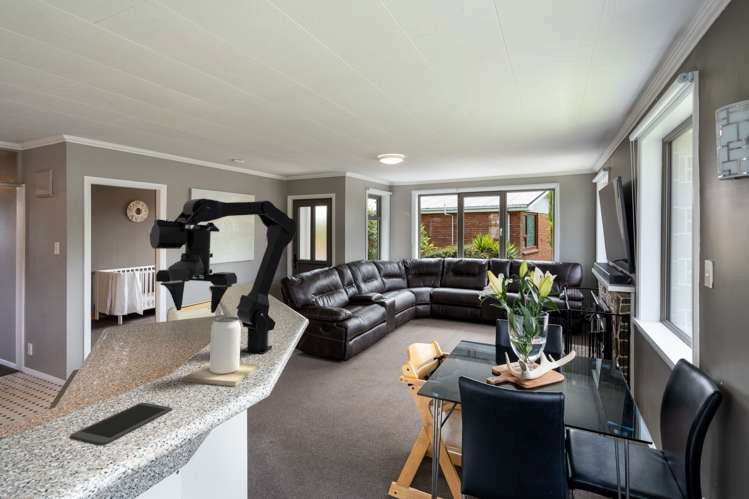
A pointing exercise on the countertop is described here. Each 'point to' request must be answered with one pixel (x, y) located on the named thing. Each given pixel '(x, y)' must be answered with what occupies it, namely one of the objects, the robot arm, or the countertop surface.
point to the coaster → (221, 375)
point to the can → (225, 345)
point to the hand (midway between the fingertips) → (195, 311)
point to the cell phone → (120, 423)
